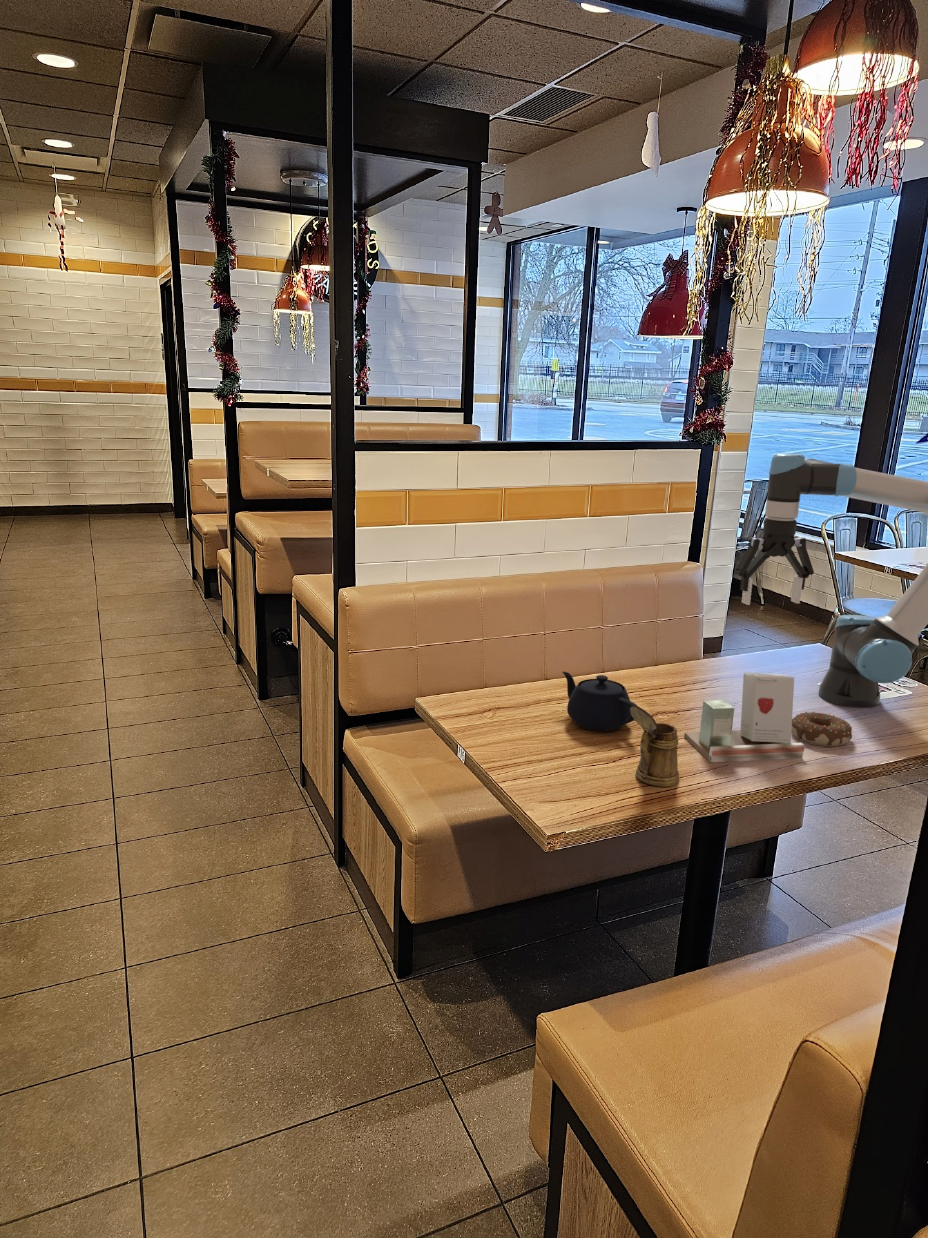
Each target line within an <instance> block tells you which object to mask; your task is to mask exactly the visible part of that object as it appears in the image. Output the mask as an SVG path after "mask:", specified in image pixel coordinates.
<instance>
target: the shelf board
mask: <svg viewBox="0 0 928 1238" xmlns="http://www.w3.org/2000/svg"><path fill="white" fill-rule="evenodd" d="M740 730H741V729H738V730H737V729H735V730H732V733H731V741H730V746H715V747H710V751H708V750H707V749H706V748H705V747H704V746H703V745H702V744H701V743H700V742H699V736H700V731H693V732H692V731H691V732H689V731H688V732H684V733H683V738H684V739H686V741H687V742H688V743H689V744H691V746H693V747H694V748H695V749H696V750H697V751H698V752H699V753H700V754H701V755H702V756H704V757H705V759H707V760H708V761H709V762H710V763H723V762H725V763H726V762H727V763H728V762H746V761H749V762H750V761H765V760H766V761H767V760H786V759H787V760H788V759H802V758H803V757H804V752H805V749H806V747H805V744H804V743H803V742H791V743H778V742H758V741H751V740H749V739H747V738H745V737H743V736H741V735H740ZM803 759H804V758H803Z"/></svg>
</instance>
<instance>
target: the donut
mask: <svg viewBox="0 0 928 1238" xmlns="http://www.w3.org/2000/svg"><path fill="white" fill-rule="evenodd" d="M852 731H853V727H852V725H851V724H850V723H849V722H848V721H846V720H845V719H842V718H841V717H837V716H835V715H834V714H833V715H832V714H829V713H823V712H816V711H812V712H808V711H805V712H800V713H799V714H796V715H795V716H794V717H792V730H791V734H792V735H794V737H796V739H798V740H800V741H802V742H804V743H807V744H810V745H815V746H820V747H828V748H829V747H830V748H831V747H839V746H840V747H841V746H842V745H844V744H847V743H848V742H849V741H850V740H852V739H853V738H852V737H853V735H852Z"/></svg>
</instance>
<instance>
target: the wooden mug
mask: <svg viewBox="0 0 928 1238" xmlns="http://www.w3.org/2000/svg"><path fill="white" fill-rule="evenodd" d="M630 711H631V715H632V717H633V718H634V720H633V721H635V722H636V724H637V725H639V727H641V728H642V730H643V732H642V735H641V740H640V745H639V748H640V749H639V750H640V757H639V762H638V765H637V766H636V769H635V777H636V779H638V780H639V781H640V782H642V783H644V784H646V785H649V786H652V787H659V788H667V787H668V788H669V787H672V786H675V785H677V784H678V782H679V781H680V772H679V765H678V745H679V736H678V730H677V728H676V727H675V726H674V725H671V724H669V723H665V722H656V720H655V719H654V717H653V716H652V715H651V714H650V713H649V712H647V710H645V709H644V708H642V707H640V706H639V705H637V706H632V707H631V708H630Z"/></svg>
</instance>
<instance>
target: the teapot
mask: <svg viewBox="0 0 928 1238" xmlns="http://www.w3.org/2000/svg"><path fill="white" fill-rule="evenodd" d="M562 674H563V675H564V677H565V679H566V684H567V685H566V687H567V688H566V689H567V691H566V692H567V697H568V702H567V706H566V709H567V710H566V711H567V714H568V716H569V718H570V719H571V720H572V721H573V722H574V723H575V724H576V725H577V726H579V727H581V728H582V729H585V730H589V731H592V732H605V733H607V732H608V733H609V732H613V731H617V730H621V728H622V727H624V726H625V725H627V724H629V723H632V722H634V721H635V720H634V718H633V717H632V715H631V711H630V708H631V707H632V706H638V705H637V704H636V703H635V702H633V701H631V699H630V696H629V694H628V691H627V689H626V687H625V685H623V684H622V683H620V682H617V681H614V680H610V679H609V677H608V676H607V675H603V674H602V675H601V674H598V675H596V676H595V677H596V678H588V679H584V680H580V681H579V682H578V683H577V684H576V683H575V680H574V677H573V676H572V674H571V673H570V672H568V671H562Z"/></svg>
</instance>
